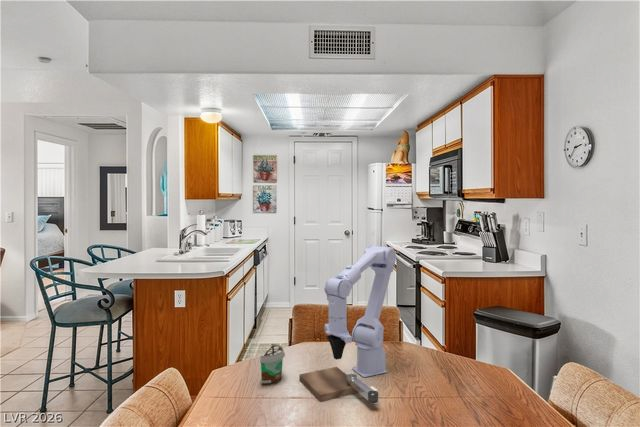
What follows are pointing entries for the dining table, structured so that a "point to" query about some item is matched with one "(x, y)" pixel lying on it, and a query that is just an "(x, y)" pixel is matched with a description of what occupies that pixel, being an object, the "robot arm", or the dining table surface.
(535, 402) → the dining table surface
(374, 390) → the block
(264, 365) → the food container
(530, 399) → the dining table surface
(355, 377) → the folding leg
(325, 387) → the stool seat
